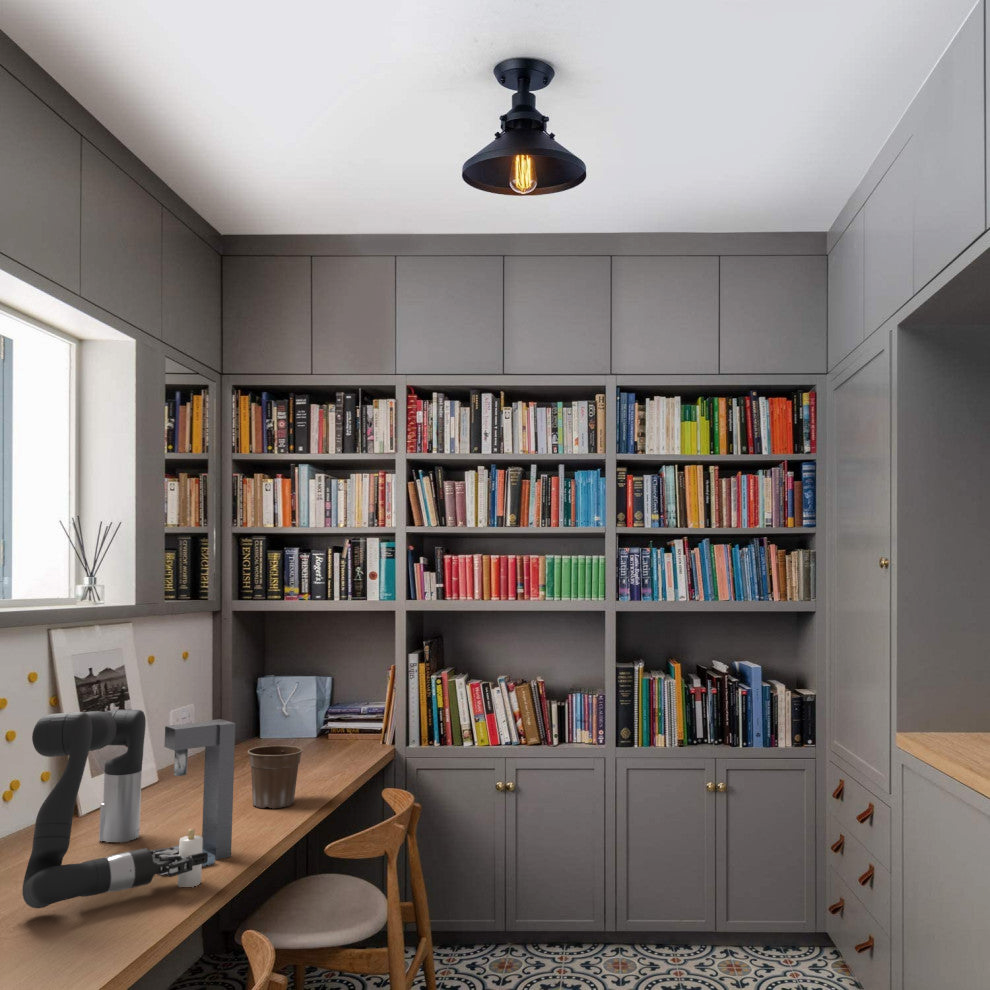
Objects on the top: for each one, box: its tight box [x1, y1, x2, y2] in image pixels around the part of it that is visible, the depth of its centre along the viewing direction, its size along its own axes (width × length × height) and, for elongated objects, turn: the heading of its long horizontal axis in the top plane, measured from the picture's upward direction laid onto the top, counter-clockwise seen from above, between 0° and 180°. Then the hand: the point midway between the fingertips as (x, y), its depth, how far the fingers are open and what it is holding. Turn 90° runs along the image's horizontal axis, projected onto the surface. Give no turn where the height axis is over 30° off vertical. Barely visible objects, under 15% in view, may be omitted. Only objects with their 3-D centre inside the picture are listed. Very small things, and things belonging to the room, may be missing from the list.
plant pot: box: [247, 745, 304, 809], centre depth 277 cm, size 16×16×16 cm
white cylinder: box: [177, 828, 203, 888], centre depth 207 cm, size 5×5×12 cm
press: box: [163, 718, 236, 876], centre depth 228 cm, size 18×22×32 cm
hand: (201, 854), depth 209 cm, fingers closed on white cylinder, 5 cm apart
